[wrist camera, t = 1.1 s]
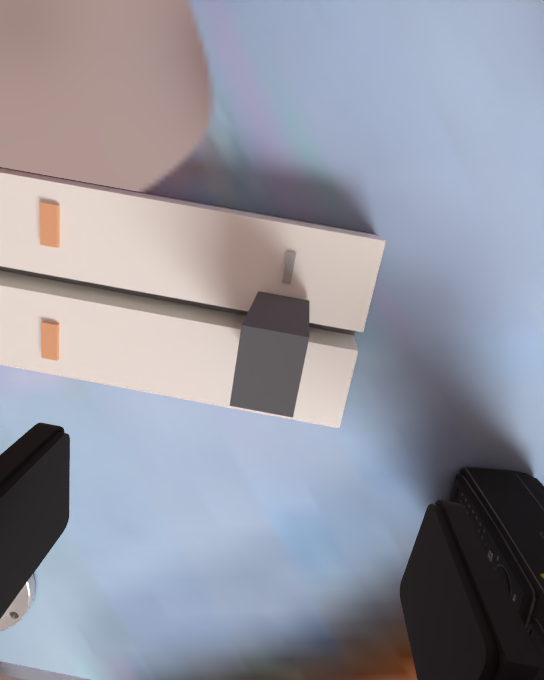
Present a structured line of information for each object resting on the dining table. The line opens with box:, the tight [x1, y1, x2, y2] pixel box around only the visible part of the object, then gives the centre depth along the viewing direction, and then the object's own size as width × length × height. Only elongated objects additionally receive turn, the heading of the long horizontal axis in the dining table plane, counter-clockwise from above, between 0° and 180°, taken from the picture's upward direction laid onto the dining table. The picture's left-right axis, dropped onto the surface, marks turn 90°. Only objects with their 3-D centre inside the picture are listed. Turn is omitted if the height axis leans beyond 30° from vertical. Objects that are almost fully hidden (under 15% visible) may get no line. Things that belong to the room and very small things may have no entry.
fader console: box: [0, 167, 386, 428], centre depth 28 cm, size 12×26×4 cm, turn 81°
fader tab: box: [230, 291, 309, 418], centre depth 24 cm, size 4×3×10 cm
